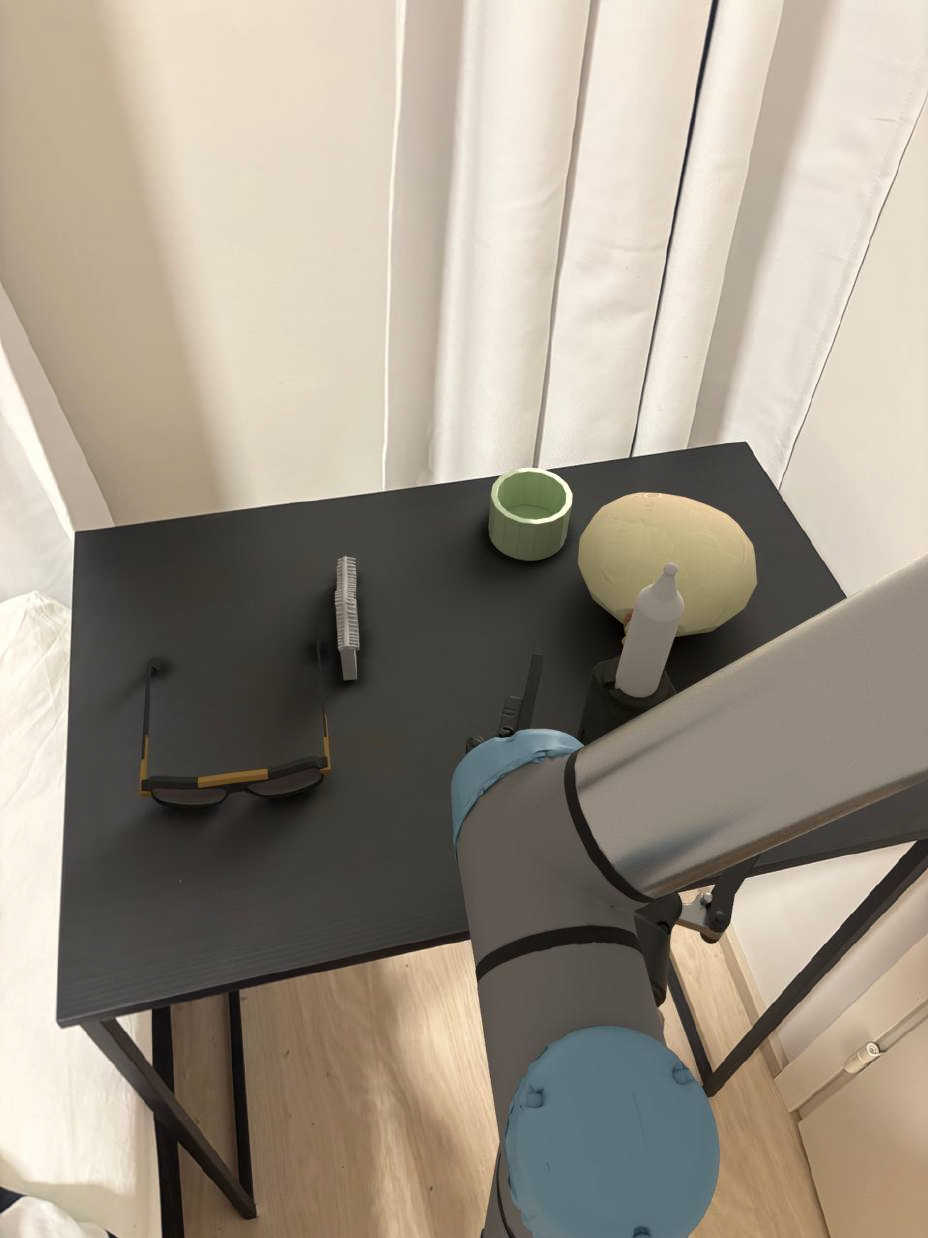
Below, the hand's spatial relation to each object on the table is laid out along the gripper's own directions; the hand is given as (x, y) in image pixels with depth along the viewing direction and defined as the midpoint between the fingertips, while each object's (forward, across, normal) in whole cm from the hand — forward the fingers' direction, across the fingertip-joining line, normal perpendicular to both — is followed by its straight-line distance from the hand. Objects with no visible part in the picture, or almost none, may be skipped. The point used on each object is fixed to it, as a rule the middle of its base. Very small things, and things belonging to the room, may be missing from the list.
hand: (634, 684), depth 63 cm
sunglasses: (-3, -30, -13) cm, 32 cm away
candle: (0, 0, -13) cm, 13 cm away
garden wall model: (+10, -24, -13) cm, 29 cm away
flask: (+18, +2, -13) cm, 22 cm away
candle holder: (+25, -11, -13) cm, 31 cm away
